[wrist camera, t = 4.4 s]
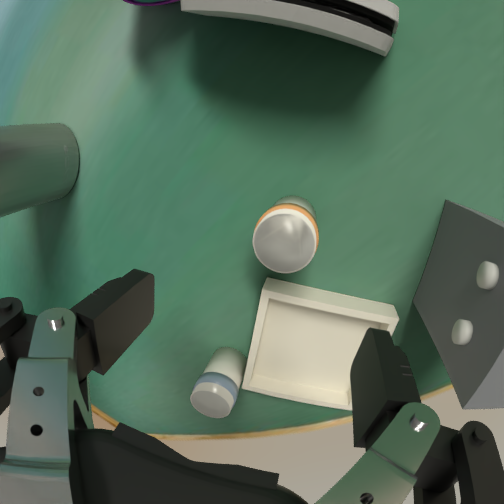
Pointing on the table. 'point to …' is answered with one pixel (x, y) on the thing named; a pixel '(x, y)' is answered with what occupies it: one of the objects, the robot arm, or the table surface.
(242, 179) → the table surface
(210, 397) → the blue-band fuse
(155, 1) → the pencil case
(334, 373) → the parts tray
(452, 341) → the control box
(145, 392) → the table surface
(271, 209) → the white orange rounded cylinder
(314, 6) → the white slotted rounded block
